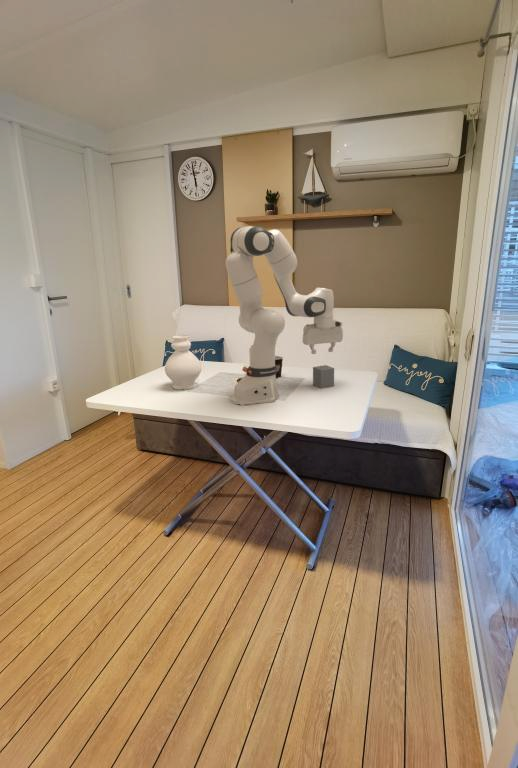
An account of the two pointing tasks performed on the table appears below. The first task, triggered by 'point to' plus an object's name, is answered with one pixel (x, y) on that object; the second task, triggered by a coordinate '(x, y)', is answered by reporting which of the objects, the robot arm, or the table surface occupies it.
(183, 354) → the decorative vase
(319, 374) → the grey block
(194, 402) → the table surface
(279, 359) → the coffee mug
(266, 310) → the robot arm
